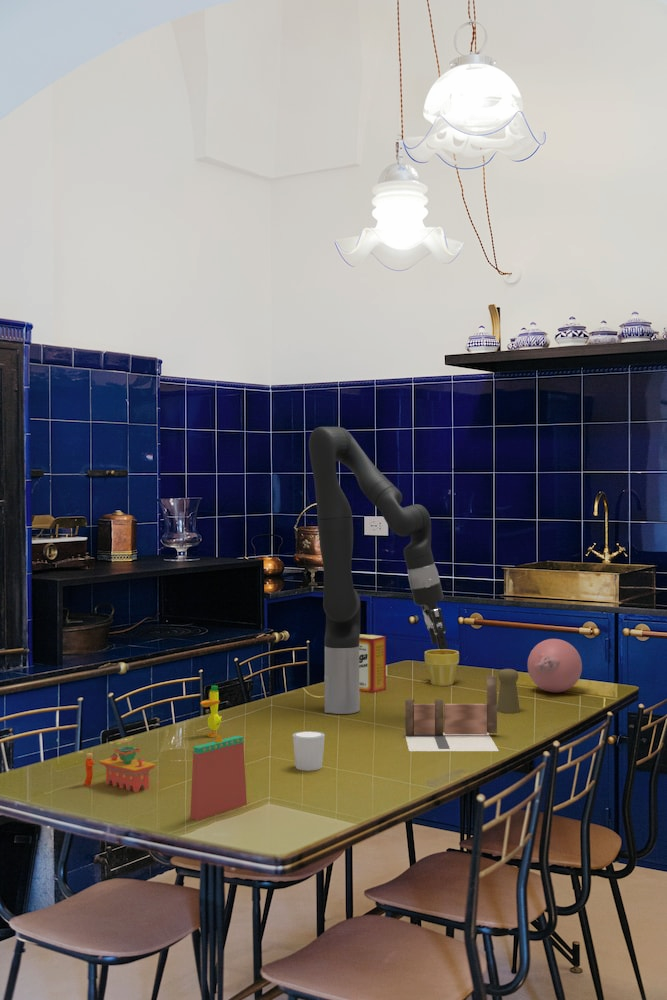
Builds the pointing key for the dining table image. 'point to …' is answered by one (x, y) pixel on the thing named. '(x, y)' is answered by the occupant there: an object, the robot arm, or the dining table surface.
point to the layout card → (451, 742)
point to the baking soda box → (372, 663)
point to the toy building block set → (212, 775)
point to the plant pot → (442, 666)
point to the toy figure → (213, 710)
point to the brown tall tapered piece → (508, 692)
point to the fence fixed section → (423, 718)
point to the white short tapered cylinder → (308, 750)
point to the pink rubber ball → (554, 665)
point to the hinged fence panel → (473, 714)
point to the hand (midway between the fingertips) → (440, 646)
